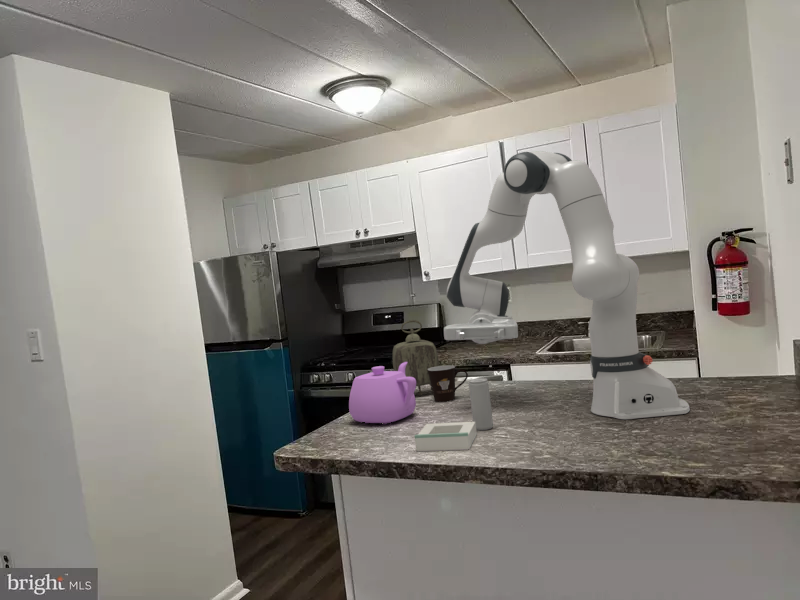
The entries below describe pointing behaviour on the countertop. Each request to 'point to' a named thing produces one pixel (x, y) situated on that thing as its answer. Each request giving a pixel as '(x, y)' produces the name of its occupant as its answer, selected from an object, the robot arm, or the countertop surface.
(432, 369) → the coffee mug
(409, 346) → the tabletop clock
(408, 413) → the teapot
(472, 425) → the socket block
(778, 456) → the countertop surface
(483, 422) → the beverage can
